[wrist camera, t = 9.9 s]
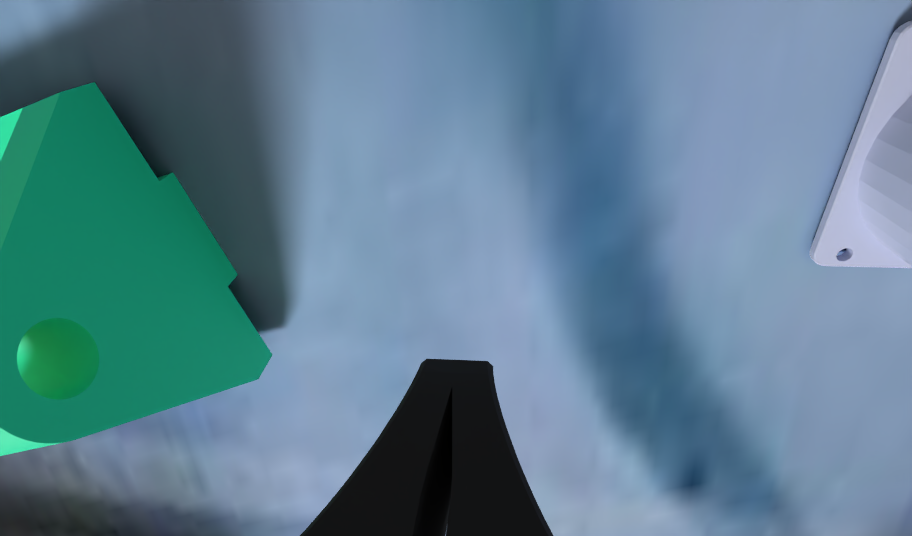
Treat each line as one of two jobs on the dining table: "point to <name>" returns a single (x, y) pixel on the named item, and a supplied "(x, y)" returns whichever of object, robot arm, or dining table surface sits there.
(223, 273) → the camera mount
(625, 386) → the dining table surface
